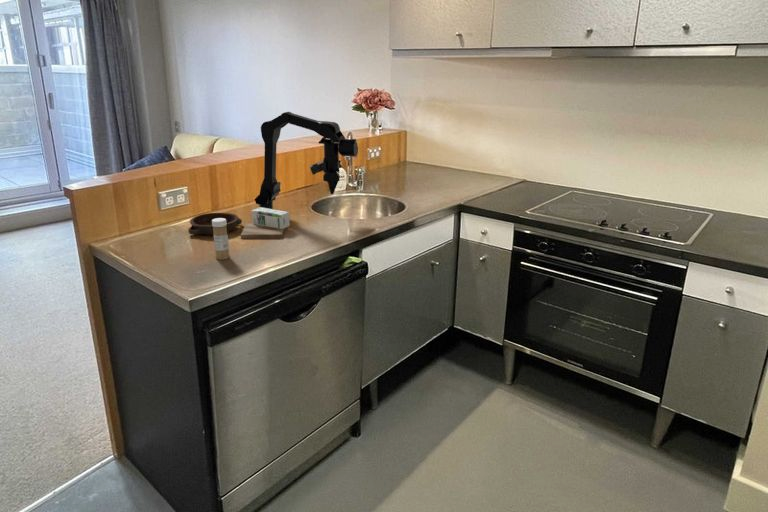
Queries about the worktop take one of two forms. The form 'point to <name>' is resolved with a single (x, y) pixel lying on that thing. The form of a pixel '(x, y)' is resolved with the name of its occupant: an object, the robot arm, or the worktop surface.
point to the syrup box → (270, 218)
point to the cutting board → (261, 231)
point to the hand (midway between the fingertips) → (332, 194)
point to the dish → (204, 223)
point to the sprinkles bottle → (220, 238)
